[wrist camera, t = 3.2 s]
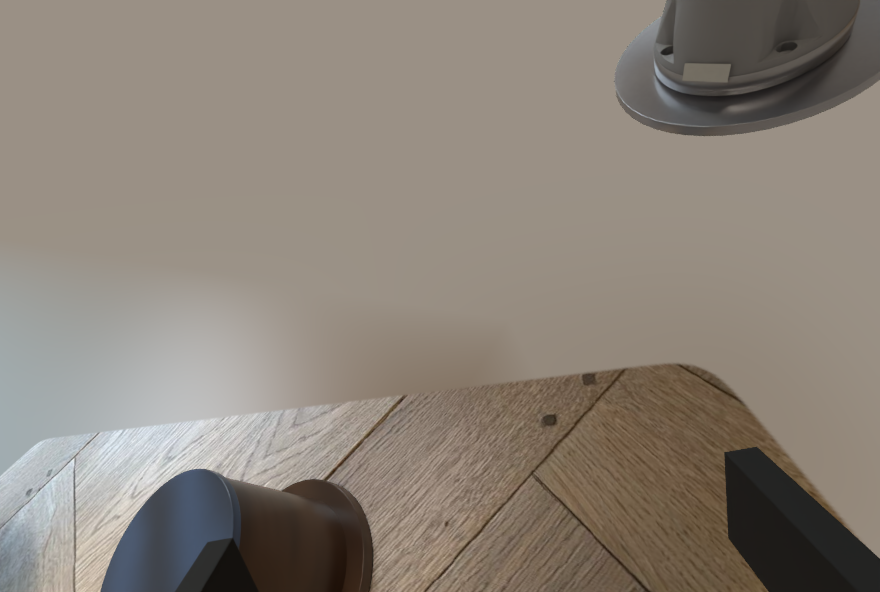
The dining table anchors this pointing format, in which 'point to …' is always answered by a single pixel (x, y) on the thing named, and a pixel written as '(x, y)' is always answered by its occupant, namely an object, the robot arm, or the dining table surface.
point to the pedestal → (246, 535)
